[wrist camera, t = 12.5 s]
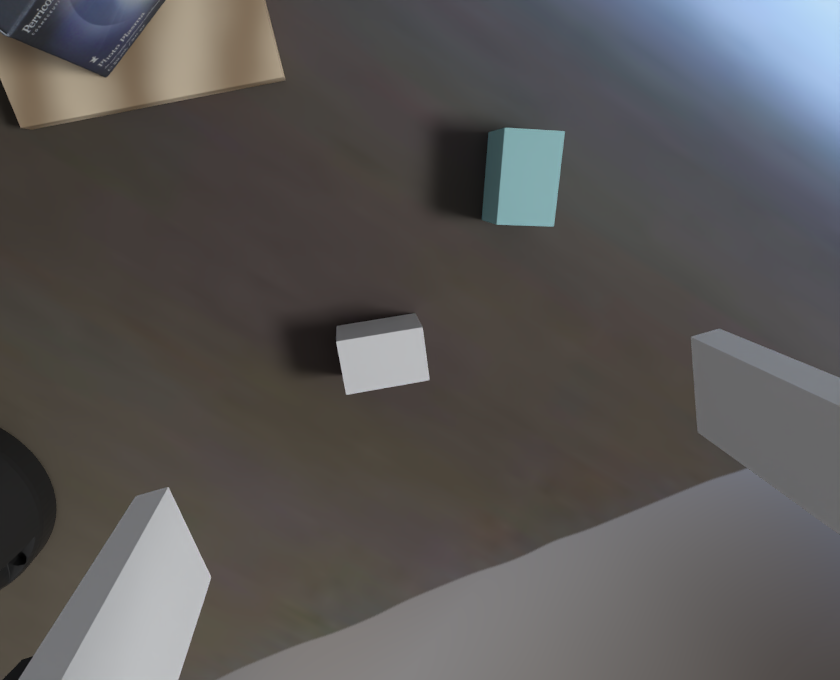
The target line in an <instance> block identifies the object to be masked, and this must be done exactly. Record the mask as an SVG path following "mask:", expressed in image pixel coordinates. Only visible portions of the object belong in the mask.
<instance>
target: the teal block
mask: <svg viewBox="0 0 840 680" xmlns="http://www.w3.org/2000/svg"><path fill="white" fill-rule="evenodd" d="M564 135H565V131H552V130H536V129H519V128H502V129H498V130H495V131H491V132H488V145H487V158H486V171H485V184H484V197H483V210H482V220H484V221H487V222H490V223H493V224H496V225H524V226H554V221H555V212H556V203H557V195H558V186H559V178H560V169H561V160H562V152H563V143H564Z"/></svg>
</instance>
